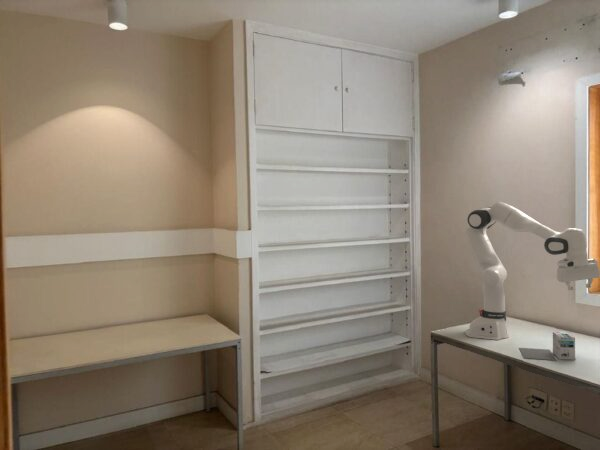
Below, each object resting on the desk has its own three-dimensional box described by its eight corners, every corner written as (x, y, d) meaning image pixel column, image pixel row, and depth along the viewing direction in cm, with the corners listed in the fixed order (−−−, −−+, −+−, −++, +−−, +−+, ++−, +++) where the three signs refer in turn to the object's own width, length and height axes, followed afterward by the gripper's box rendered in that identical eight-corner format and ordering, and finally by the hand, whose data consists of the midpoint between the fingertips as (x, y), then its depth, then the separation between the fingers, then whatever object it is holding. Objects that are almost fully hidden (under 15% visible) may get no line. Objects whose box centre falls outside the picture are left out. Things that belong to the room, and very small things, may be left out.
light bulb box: (575, 360, 220) (575, 337, 220) (560, 359, 221) (560, 337, 221) (566, 352, 231) (566, 331, 230) (552, 352, 232) (552, 330, 231)
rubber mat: (523, 358, 224) (523, 357, 224) (518, 348, 239) (518, 347, 239) (556, 360, 220) (556, 359, 220) (549, 350, 235) (549, 349, 235)
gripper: (592, 257, 235) (594, 285, 235) (553, 262, 233) (556, 290, 234) (601, 259, 228) (604, 287, 229) (562, 264, 227) (564, 292, 227)
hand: (579, 288), depth 231 cm, fingers open, 8 cm apart
